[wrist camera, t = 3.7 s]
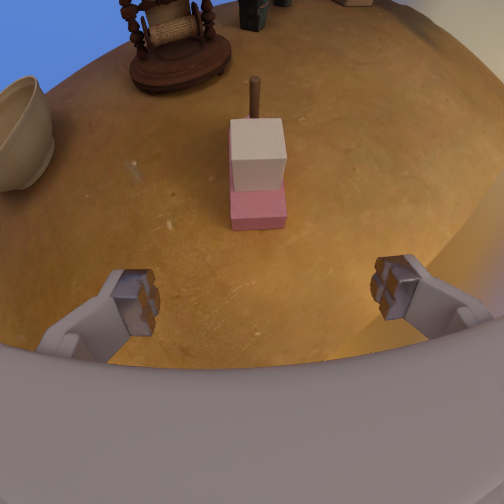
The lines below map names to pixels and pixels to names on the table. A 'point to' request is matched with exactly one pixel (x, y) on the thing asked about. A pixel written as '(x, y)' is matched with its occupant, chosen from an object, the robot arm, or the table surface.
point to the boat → (257, 169)
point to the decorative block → (355, 2)
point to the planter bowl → (24, 134)
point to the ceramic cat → (256, 13)
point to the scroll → (174, 44)
